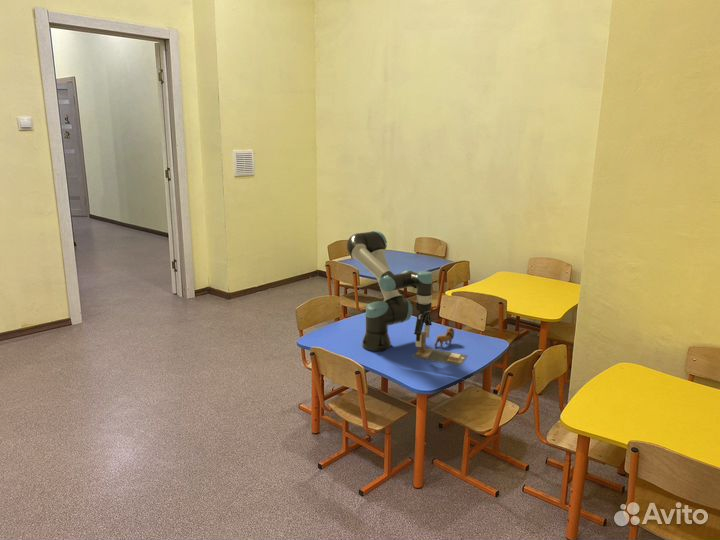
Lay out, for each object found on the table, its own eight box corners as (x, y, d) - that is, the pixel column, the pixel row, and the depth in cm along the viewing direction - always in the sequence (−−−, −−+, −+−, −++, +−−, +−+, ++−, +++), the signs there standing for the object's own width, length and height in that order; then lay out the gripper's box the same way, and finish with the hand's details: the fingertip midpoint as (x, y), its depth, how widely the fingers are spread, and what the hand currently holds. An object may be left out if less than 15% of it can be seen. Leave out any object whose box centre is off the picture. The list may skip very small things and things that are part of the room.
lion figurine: (448, 341, 292) (448, 325, 290) (456, 343, 289) (457, 328, 286) (431, 348, 282) (432, 332, 280) (439, 351, 278) (440, 335, 276)
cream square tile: (448, 359, 267) (448, 356, 266) (451, 356, 271) (451, 352, 271) (458, 361, 265) (458, 358, 264) (461, 357, 269) (461, 354, 269)
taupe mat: (412, 358, 270) (412, 357, 270) (421, 348, 282) (421, 347, 282) (461, 367, 260) (461, 365, 260) (467, 356, 272) (467, 355, 272)
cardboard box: (416, 355, 272) (416, 335, 269) (421, 349, 280) (422, 329, 277) (427, 357, 269) (428, 337, 266) (432, 351, 277) (433, 331, 274)
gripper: (423, 310, 255) (422, 351, 261) (438, 296, 277) (436, 334, 283) (408, 308, 258) (407, 349, 264) (424, 294, 280) (423, 332, 286)
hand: (422, 341), depth 273 cm, fingers open, 13 cm apart
